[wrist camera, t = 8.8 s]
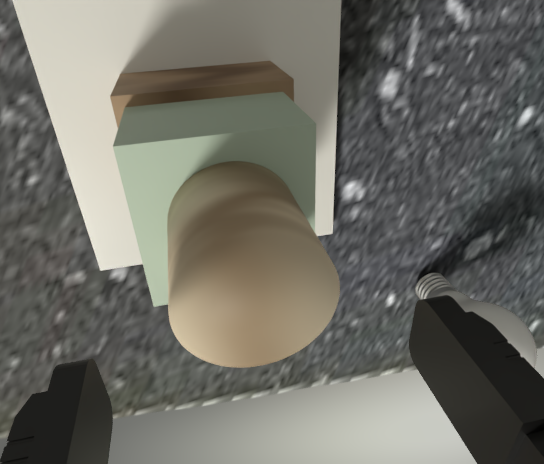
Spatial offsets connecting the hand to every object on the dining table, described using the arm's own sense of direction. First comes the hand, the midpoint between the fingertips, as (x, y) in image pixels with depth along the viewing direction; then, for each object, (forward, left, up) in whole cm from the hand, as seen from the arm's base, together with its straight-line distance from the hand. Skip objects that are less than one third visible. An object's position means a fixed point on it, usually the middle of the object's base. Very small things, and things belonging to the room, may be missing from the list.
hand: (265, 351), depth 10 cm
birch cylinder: (0, 0, -7) cm, 7 cm away
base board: (0, 0, -18) cm, 18 cm away
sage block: (0, 0, -12) cm, 12 cm away
